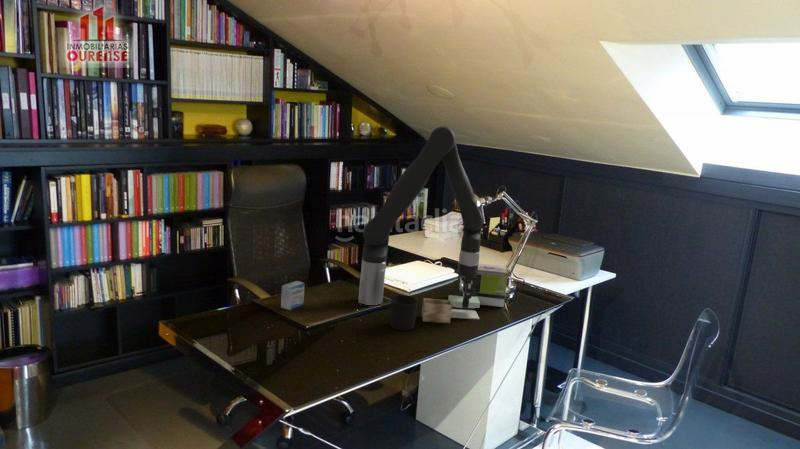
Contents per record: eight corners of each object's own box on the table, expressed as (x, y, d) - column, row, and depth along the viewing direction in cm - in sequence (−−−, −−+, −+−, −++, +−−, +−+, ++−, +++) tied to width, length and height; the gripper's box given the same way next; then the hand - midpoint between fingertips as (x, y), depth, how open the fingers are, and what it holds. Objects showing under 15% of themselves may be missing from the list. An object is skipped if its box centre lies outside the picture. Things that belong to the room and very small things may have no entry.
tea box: (502, 299, 251) (507, 265, 248) (503, 308, 242) (508, 273, 238) (466, 295, 252) (470, 261, 249) (466, 303, 243) (470, 268, 239)
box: (422, 321, 220) (424, 303, 218) (421, 316, 225) (423, 298, 223) (449, 323, 221) (452, 305, 219) (448, 317, 226) (450, 300, 224)
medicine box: (289, 310, 218) (291, 288, 216) (280, 307, 220) (281, 285, 218) (303, 304, 225) (305, 282, 223) (294, 301, 227) (295, 280, 225)
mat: (447, 317, 226) (447, 316, 226) (445, 309, 234) (445, 308, 234) (479, 319, 227) (479, 318, 227) (475, 311, 235) (475, 310, 235)
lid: (450, 308, 226) (451, 301, 226) (448, 302, 232) (448, 295, 232) (479, 310, 227) (480, 302, 226) (476, 304, 233) (477, 296, 233)
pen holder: (419, 325, 216) (422, 299, 214) (408, 333, 208) (411, 306, 206) (395, 318, 220) (398, 293, 218) (384, 327, 212) (386, 300, 209)
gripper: (455, 255, 232) (451, 296, 236) (461, 267, 218) (456, 310, 222) (475, 257, 233) (470, 297, 237) (482, 268, 219) (476, 311, 223)
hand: (463, 303), depth 230 cm, fingers closed on lid, 6 cm apart
